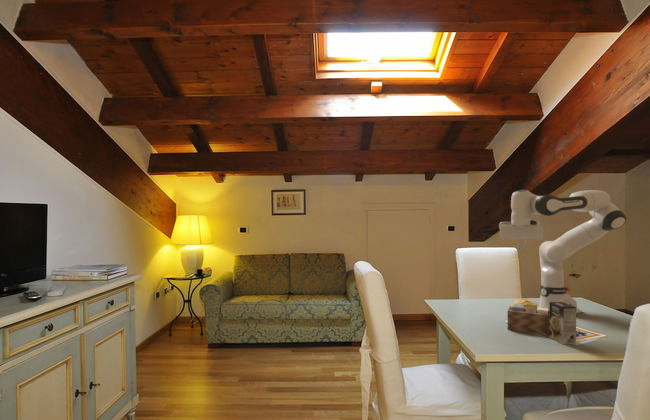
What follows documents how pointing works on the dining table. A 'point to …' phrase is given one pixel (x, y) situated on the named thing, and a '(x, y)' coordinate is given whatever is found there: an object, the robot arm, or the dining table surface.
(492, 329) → the dining table surface
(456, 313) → the dining table surface
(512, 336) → the dining table surface
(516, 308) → the blue key
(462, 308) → the dining table surface
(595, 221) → the robot arm
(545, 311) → the white key
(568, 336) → the coffee box
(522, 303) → the sculpture
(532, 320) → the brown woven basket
